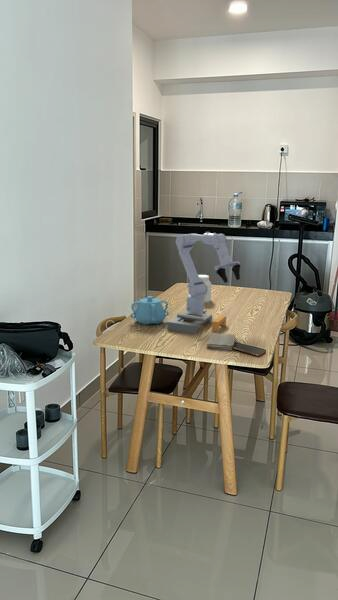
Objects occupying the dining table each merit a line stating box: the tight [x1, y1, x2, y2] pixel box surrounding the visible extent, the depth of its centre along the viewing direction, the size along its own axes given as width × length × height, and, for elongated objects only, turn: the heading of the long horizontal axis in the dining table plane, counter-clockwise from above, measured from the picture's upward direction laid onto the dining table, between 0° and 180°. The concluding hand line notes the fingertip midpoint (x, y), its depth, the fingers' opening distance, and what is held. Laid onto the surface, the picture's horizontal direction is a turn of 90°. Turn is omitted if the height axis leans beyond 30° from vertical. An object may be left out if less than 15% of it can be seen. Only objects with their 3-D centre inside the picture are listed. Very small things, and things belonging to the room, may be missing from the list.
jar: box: [198, 274, 212, 303], centre depth 289 cm, size 12×10×15 cm
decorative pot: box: [130, 295, 170, 326], centre depth 244 cm, size 20×20×14 cm
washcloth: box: [206, 332, 236, 352], centre depth 215 cm, size 12×18×3 cm, turn 169°
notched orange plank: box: [211, 314, 227, 332], centre depth 237 cm, size 12×3×5 cm, turn 154°
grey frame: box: [166, 310, 213, 335], centre depth 240 cm, size 15×22×6 cm
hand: (232, 280), depth 242 cm, fingers open, 7 cm apart
